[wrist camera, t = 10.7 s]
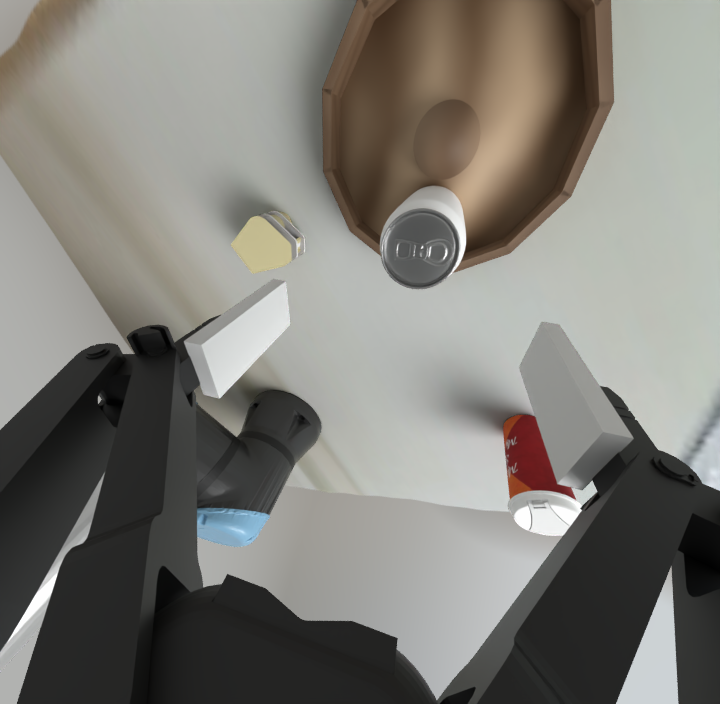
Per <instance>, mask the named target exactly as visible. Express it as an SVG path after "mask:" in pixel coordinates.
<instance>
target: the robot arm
mask: <svg viewBox="0 0 720 704" xmlns="http://www.w3.org/2000/svg"><path fill="white" fill-rule="evenodd" d="M289 325H290V315H289V306H288V296H287V287H286V281H282V280H276V279H273V280H271V281H270V282H268V283H267V284H266V285H264V286H263V287H261V288H260V289H258V290H257V291H255V292H254V293H253V294H251V295H250V296H248V297H247V298H245V299H244V300H242V301H241V302H240V303H238V304H237V305H235V306H234V307H232V308H231V309H229V310H228V311H227V312H225V313H224V314H222V315H219V316H216V317H213V318H211V319H209V320H207V321H206V322H204V323H203V324H202V326H201V325H200V326H199V327H197V328H196V329H195V330H193V331H191V332H190V333H188V334H187V335H185V336H184V337H182V338H181V339H179V340H178V341H176V342H175V343H174V341H173V339H172V336H171V334H170V331H169V329H168V327H166V326H163V325H150V326H146V327H142V328H139V329H137V330H134V331H133V332H131V333H130V334H129V335H128V336H127V339H128V341H129V343H130V345H131V347H132V349H133V351H134V353H135V354H122V352H121V350H120V348H119V347H118V345H116V344H110V343H105V344H97V345H95V346H90V347H89V348H87V349H85V350H83V351H81V352H80V353H78V354H77V355H76V356H75V357H74V358H73V359H72V360H71V361H70V362H69V363H68V364H67V365H66V366H65V367H64V368H63V369H62V370H61V371H60V372H59V373H58V374H57V375H56V376H55V377H54V378H53V379H52V380H51V381H50V382H49V383H48V384H47V385H46V386H45V387H44V388H43V389H41V390H40V391H39V392H38V393H37V394H36V395H35V396H34V397H33V398H32V399H31V400H30V401H29V402H28V403H27V404H26V405H25V406H24V407H23V408H22V409H21V410H20V411H19V412H18V413H17V414H16V415H15V416H14V417H13V418H12V419H11V420H10V421H9V422H8V423H7V424H6V425H5V426H4V427H3V428H2V429H1V430H0V672H1V671H2V670H3V669H4V668H5V667H6V666H7V664H8V663H9V662H10V661H11V660H12V659H13V658H14V657H15V655H16V654H17V653H18V652H19V651H20V650H21V649H22V648H23V646H24V645H25V644H26V643H27V642H28V641H29V640H30V639H31V638H32V637H33V635H34V634H35V633H36V632H37V631H38V630H39V629H40V632H39V635H38V638H37V641H36V644H35V648H34V651H33V654H32V657H31V660H30V664H29V667H28V670H27V673H26V676H25V679H24V683H23V686H22V689H21V693H20V695H19V699H18V702H17V704H616V702H617V699H618V697H619V694H620V692H621V689H622V687H623V684H624V682H625V679H626V677H627V675H628V672H629V670H630V667H631V664H632V661H633V659H634V657H635V654H636V652H637V649H638V647H639V645H640V642H641V640H642V637H643V635H644V632H645V630H646V627H647V625H648V622H649V620H650V617H651V615H652V612H653V610H654V607H655V605H656V602H657V599H658V597H659V595H660V592H661V590H662V587H663V585H664V582H665V580H666V577H667V575H668V572H669V570H670V567H671V565H672V583H673V601H674V622H675V642H676V662H677V680H678V681H677V682H678V701H679V704H720V491H718V490H716V489H714V488H711V487H709V486H707V485H704V484H702V482H701V480H700V479H699V477H698V476H697V474H696V473H695V472H694V471H693V470H692V469H691V468H690V467H689V466H688V465H686V464H685V463H683V462H682V461H680V460H679V459H677V458H676V457H674V456H672V455H670V454H668V453H665V452H663V451H659V450H658V449H657V448H656V447H655V445H654V444H653V442H652V441H651V440H650V438H649V437H648V435H647V434H646V432H645V431H644V430H643V428H642V427H641V425H640V424H639V423H638V421H637V420H635V417H634V416H633V414H632V413H631V411H628V410H629V409H628V407H627V406H626V404H625V403H624V402H623V400H622V399H621V398H620V397H619V396H618V395H617V394H615V393H614V392H613V391H612V390H611V389H609V388H607V387H602V386H599V384H598V383H597V381H596V380H595V378H594V377H593V375H592V374H591V372H590V371H589V369H588V368H587V366H586V365H585V363H584V361H583V360H582V358H581V357H580V355H579V354H578V352H577V351H576V349H575V348H574V346H573V345H572V343H571V342H570V340H569V339H568V337H567V335H566V334H565V332H564V331H563V329H562V328H561V326H560V325H559V324H553V323H546V322H541V324H540V326H539V328H538V330H537V332H536V334H535V336H534V338H533V340H532V342H531V344H530V346H529V348H528V350H527V352H526V354H525V356H524V358H523V360H522V362H521V364H520V366H519V369H520V372H521V375H522V378H523V381H524V384H525V387H526V390H527V393H528V396H529V399H530V402H531V405H532V408H533V411H534V414H535V417H536V420H537V423H538V426H539V430H540V433H541V436H542V439H543V442H544V445H545V448H546V451H547V454H548V457H549V460H550V463H551V466H552V469H553V472H554V475H555V478H556V481H557V484H560V485H564V486H568V487H572V488H576V489H580V490H583V489H584V488H585V487H586V486H587V485H588V484H589V483H590V482H591V481H592V480H593V482H594V485H595V487H596V489H597V491H598V492H597V493H596V494H595V495H594V496H592V497H591V498H590V499H589V500H588V501H587V502H586V503H585V504H584V505H583V506H582V507H581V508H580V509H581V510H582V511H581V512H580V514H579V515H578V516H577V518H576V519H575V520H574V522H573V523H572V525H571V526H570V527H569V529H568V530H567V531H566V533H565V534H564V535H563V537H562V538H561V540H560V541H559V542H558V543H557V545H556V546H555V547H554V549H553V550H552V552H551V553H550V554H549V556H548V557H547V558H546V560H545V561H544V562H543V564H542V565H541V566H540V568H539V569H538V571H537V572H536V573H535V575H534V576H533V577H532V579H531V580H530V581H529V583H528V584H527V585H526V587H525V588H524V589H523V591H522V592H521V593H520V595H519V596H518V598H517V599H516V600H515V602H514V603H513V604H512V606H511V607H510V608H509V610H508V611H507V612H506V614H505V615H504V617H503V618H502V619H501V620H500V622H499V623H498V625H497V626H496V627H495V629H494V630H493V631H492V633H491V634H490V635H489V637H488V638H487V639H486V641H485V642H484V643H483V645H482V646H481V647H480V649H479V650H478V652H477V653H476V654H475V656H474V657H473V658H472V659H471V661H470V662H469V663H468V664H467V665H466V666H465V667H464V668H463V669H462V670H461V671H460V672H459V673H458V675H457V676H456V677H455V678H454V679H453V680H452V682H451V683H450V685H449V686H448V687H447V688H446V690H445V691H444V692H443V693H442V695H441V696H440V697H439V699H438V700H436V698H435V696H434V694H433V693H432V691H431V690H430V688H429V686H428V685H427V683H426V681H425V680H424V679H423V677H422V676H421V674H420V673H419V672H418V670H416V668H415V667H414V666H413V665H412V664H411V663H410V661H409V660H408V659H407V658H406V657H405V656H404V655H403V654H401V653H400V652H399V651H398V650H397V649H396V648H397V638H395V637H393V636H390V635H387V634H385V633H382V632H380V631H377V630H374V629H372V628H369V627H366V626H364V625H361V624H358V623H356V622H353V621H305V620H302V619H300V618H299V617H297V616H296V615H295V614H294V613H293V612H292V611H291V610H289V609H288V608H287V607H286V606H285V605H284V604H283V603H282V602H280V601H279V600H278V599H277V598H276V597H275V596H274V595H272V594H271V593H270V592H269V591H268V590H267V589H265V588H263V587H260V586H258V585H255V584H252V583H250V582H247V581H244V580H242V579H239V578H236V577H234V576H231V575H228V574H227V576H226V578H225V580H224V582H223V583H222V584H220V585H213V586H208V587H204V588H203V581H202V575H201V571H200V567H199V563H198V556H197V537H199V538H202V539H205V540H208V541H211V542H214V543H218V544H222V545H227V546H234V547H241V546H246V545H249V544H250V543H252V542H253V541H254V540H255V539H256V538H257V536H258V534H259V533H260V531H261V529H262V528H263V526H264V524H265V523H266V521H267V520H268V519H269V517H270V516H269V515H270V513H271V511H272V509H273V507H274V505H275V503H276V501H277V499H278V497H279V495H280V493H281V491H282V489H283V487H284V485H285V483H286V481H287V479H288V477H289V475H290V473H291V471H292V469H293V467H294V465H295V463H296V462H297V461H298V460H299V459H300V458H301V457H302V456H303V455H304V454H305V453H306V452H307V451H308V450H309V449H310V448H311V447H312V446H313V445H314V444H315V443H316V441H317V439H318V437H319V435H320V433H321V422H320V419H319V417H318V416H317V414H316V413H315V411H314V410H313V409H312V408H311V407H310V406H309V405H308V404H307V403H305V402H304V401H303V400H301V399H299V398H298V397H296V396H294V395H291V394H289V393H286V392H282V391H274V390H272V391H265V392H263V393H261V394H259V395H258V396H257V397H256V398H255V400H254V401H253V402H252V404H251V405H250V407H249V410H248V413H247V416H246V419H245V422H244V425H243V428H242V431H241V433H240V434H239V435H238V437H236V436H234V435H233V434H232V433H231V432H230V431H229V430H227V429H226V428H225V427H224V426H223V425H221V424H220V423H219V422H218V421H217V420H215V419H214V418H213V417H212V416H210V415H209V414H208V413H207V412H206V411H204V410H203V409H202V408H201V407H200V406H199V405H198V403H197V402H196V395H195V393H194V389H195V388H197V387H198V386H199V385H200V386H201V389H202V391H203V394H204V395H207V396H211V397H215V398H219V399H220V398H221V397H222V396H223V395H224V394H225V393H226V391H227V390H228V389H229V388H230V387H231V386H232V385H233V384H234V383H235V382H236V381H237V380H238V379H239V378H240V377H241V376H242V375H243V374H244V373H245V372H246V370H247V369H248V368H249V367H250V366H251V365H252V364H253V363H254V362H255V361H256V360H257V359H258V358H259V357H260V356H261V355H262V354H263V353H264V352H265V351H266V349H267V348H268V347H269V346H270V345H271V344H272V343H273V342H274V341H275V340H276V339H277V338H278V337H279V336H280V335H281V334H282V333H283V332H284V331H285V330H286V328H287V327H288V326H289ZM98 396H100V397H101V399H102V400H101V402H100V403H99V404H98Z"/></svg>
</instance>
